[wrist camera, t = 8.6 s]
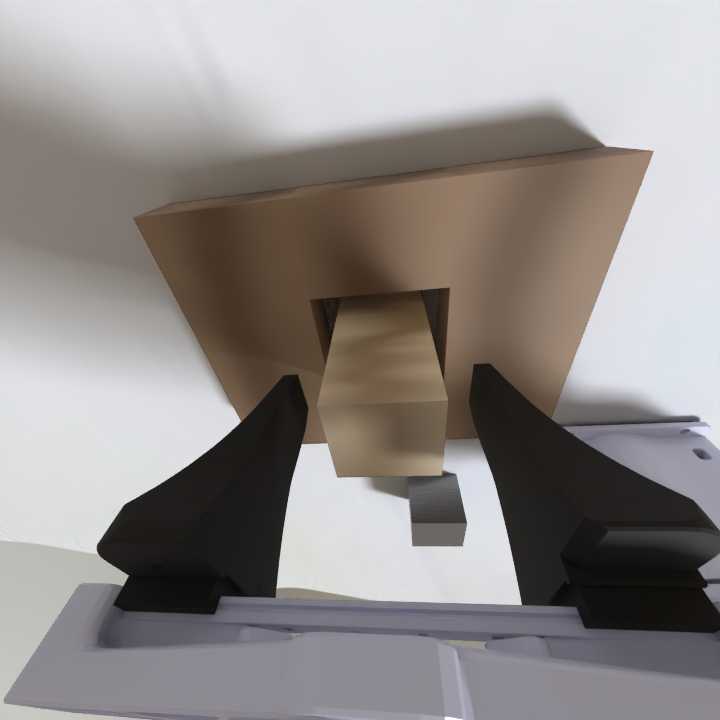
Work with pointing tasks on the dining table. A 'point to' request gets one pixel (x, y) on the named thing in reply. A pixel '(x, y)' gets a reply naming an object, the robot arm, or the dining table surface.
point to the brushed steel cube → (436, 511)
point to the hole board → (403, 269)
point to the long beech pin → (383, 389)
